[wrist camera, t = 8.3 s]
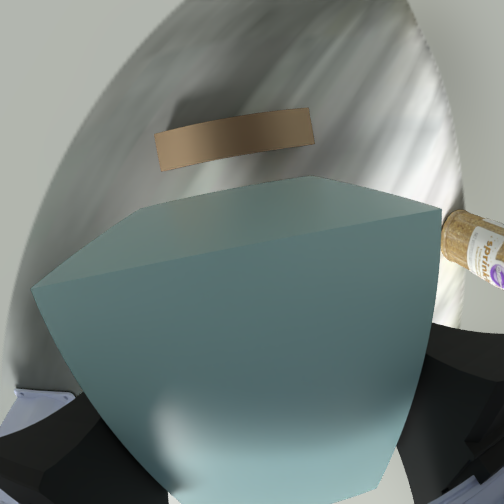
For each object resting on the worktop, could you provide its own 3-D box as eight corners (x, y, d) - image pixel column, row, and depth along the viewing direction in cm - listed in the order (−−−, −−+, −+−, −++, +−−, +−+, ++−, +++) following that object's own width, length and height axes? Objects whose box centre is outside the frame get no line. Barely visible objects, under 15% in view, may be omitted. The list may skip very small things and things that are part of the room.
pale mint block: (204, 403, 13) (204, 522, 7) (140, 208, 10) (30, 288, 3) (327, 378, 13) (376, 488, 7) (311, 175, 10) (441, 208, 4)
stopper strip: (169, 169, 16) (161, 171, 14) (163, 137, 15) (154, 134, 13) (302, 146, 16) (314, 144, 14) (296, 114, 16) (308, 107, 13)
